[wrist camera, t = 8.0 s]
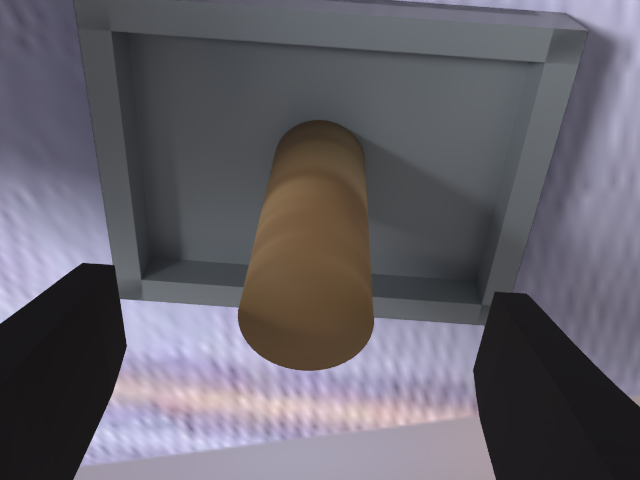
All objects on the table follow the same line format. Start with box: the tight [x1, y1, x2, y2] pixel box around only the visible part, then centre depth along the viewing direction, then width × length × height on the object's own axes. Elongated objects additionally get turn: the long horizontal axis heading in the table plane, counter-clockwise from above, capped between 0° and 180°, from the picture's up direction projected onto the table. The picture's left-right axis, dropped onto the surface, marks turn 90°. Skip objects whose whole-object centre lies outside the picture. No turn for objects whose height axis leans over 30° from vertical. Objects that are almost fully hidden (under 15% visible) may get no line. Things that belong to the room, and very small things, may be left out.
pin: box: [238, 120, 374, 371], centre depth 15 cm, size 3×3×7 cm
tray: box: [73, 0, 588, 325], centre depth 17 cm, size 12×9×2 cm
